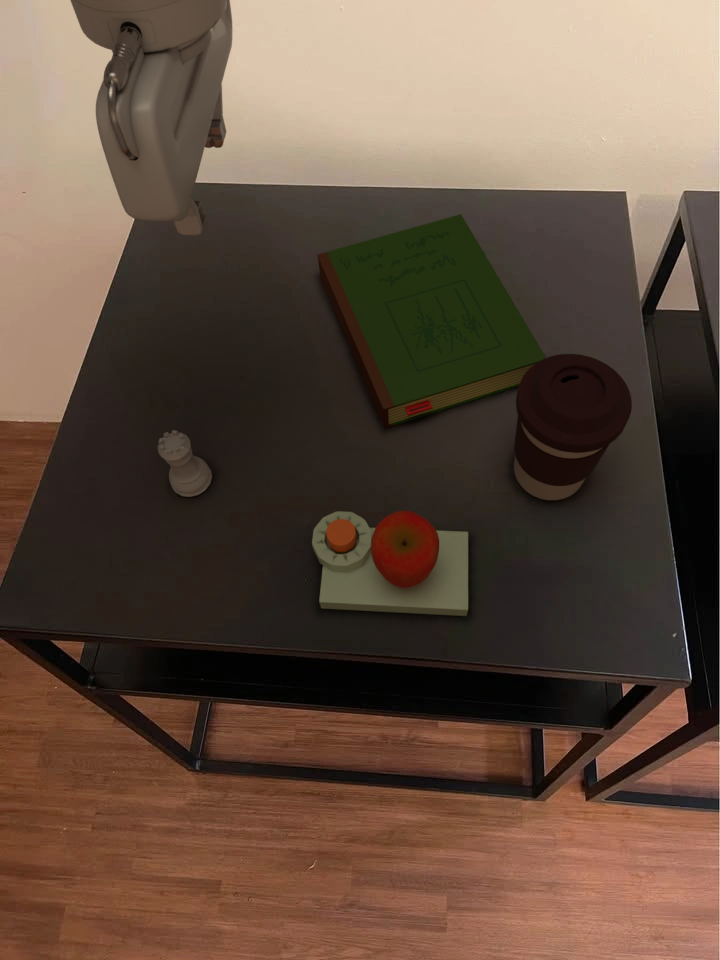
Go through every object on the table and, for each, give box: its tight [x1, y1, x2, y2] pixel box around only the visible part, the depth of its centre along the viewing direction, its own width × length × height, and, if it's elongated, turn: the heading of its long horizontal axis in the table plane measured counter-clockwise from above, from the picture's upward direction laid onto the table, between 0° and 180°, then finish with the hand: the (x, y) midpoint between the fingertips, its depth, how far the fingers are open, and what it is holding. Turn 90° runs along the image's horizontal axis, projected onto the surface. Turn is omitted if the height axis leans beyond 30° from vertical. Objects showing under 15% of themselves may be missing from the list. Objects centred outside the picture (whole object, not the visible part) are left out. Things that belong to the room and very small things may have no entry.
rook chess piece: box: [157, 429, 213, 498], centre depth 74 cm, size 4×4×8 cm
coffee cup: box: [513, 353, 633, 501], centre depth 69 cm, size 10×10×15 cm
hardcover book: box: [317, 213, 547, 429], centre depth 84 cm, size 25×19×4 cm
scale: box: [311, 510, 469, 617], centre depth 69 cm, size 15×9×4 cm, turn 86°
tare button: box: [326, 519, 357, 553], centre depth 69 cm, size 3×3×2 cm
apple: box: [371, 510, 439, 588], centre depth 66 cm, size 6×6×8 cm
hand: (204, 183), depth 53 cm, fingers open, 8 cm apart
